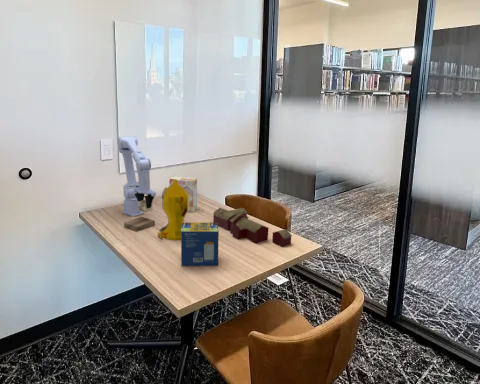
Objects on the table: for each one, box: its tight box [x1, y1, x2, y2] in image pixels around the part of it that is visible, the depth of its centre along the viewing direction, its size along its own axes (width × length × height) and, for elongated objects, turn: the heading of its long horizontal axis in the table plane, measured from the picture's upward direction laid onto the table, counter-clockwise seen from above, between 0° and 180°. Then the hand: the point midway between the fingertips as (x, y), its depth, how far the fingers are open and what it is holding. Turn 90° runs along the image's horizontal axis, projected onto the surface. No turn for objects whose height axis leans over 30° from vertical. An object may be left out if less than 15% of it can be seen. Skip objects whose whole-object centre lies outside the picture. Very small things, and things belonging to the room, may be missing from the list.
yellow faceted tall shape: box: [157, 179, 189, 242], centre depth 179 cm, size 18×24×28 cm
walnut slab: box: [123, 216, 156, 233], centre depth 192 cm, size 10×12×3 cm
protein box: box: [180, 221, 220, 267], centre depth 153 cm, size 10×15×16 cm
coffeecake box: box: [169, 175, 198, 213], centre depth 218 cm, size 15×7×20 cm, turn 77°
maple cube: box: [138, 199, 153, 213], centre depth 195 cm, size 5×5×5 cm
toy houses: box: [212, 207, 293, 248], centre depth 186 cm, size 45×20×10 cm, turn 38°
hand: (145, 207), depth 195 cm, fingers closed on maple cube, 5 cm apart
